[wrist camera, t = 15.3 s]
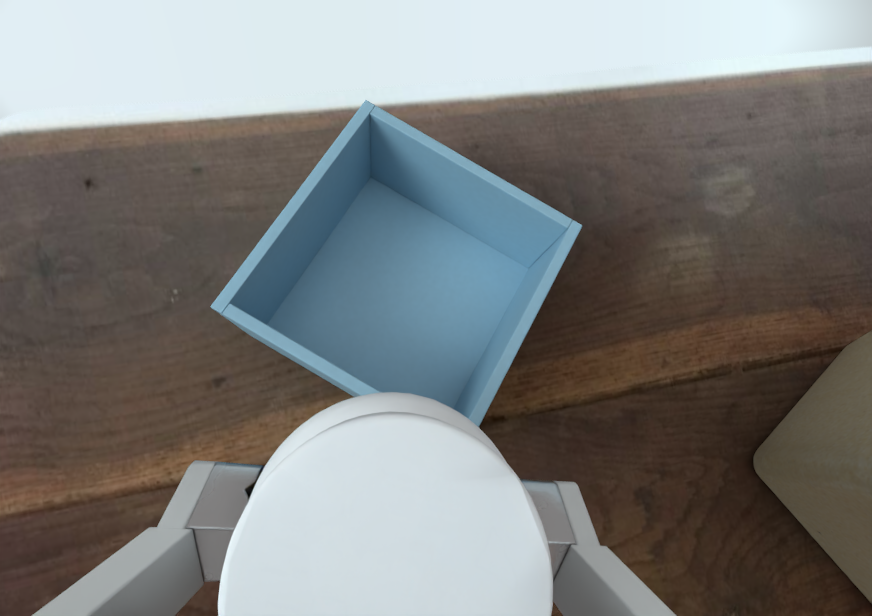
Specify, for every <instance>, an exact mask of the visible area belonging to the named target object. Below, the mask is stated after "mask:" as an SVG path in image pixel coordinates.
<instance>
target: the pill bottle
mask: <svg viewBox="0 0 872 616" xmlns="http://www.w3.org/2000/svg"><path fill="white" fill-rule="evenodd" d="M552 606H553V574H552V566H551V558H550V551H549V546H548V542H547V537H546V534H545V531H544V528H543V525H542V522H541V519H540V517H539V514H538V512H537V509H536V507H535V505H534V503H533V500H532V498H531V496H530V495H529V493H528V492H527V490H526V488H525V487H524V485H523V483H522V482H521V481H520V479H519V478H518V476H517V475H516V473H515V472H514V471H513V470H512V469H511V467H510V466H509V465H508V464H507V463H506V461H505V459H504V458H503V456H502V455H501V453H500V452H499V450H498V449H497V448H496V446H495V445H494V444H493V442H492V441H491V440H490V439H489V438H488V437H487V435H486V434H485V433H484V432H483V431H482V430H481V429H480V428H479V427H478V426H477V425H475V424H474V423H473V422H472V421H470V420H469V419H468V418H467V417H465V416H464V415H462V414H461V413H459V412H458V411H456V410H454V409H452V408H451V407H449V406H447V405H445V404H442V403H440V402H438V401H436V400H434V399H431V398H427V397H423V396H419V395H415V394H411V393H398V392H385V393H373V394H367V395H362V396H357V397H354V398H351V399H347V400H344V401H342V402H339V403H336V404H334V405H332V406H330V407H328V408H327V409H325V410H323V411H321V412H319V413H317V414H315V415H314V416H312V417H311V418H310V419H309V420H307V421H306V422H305V423H303V424H302V425H301V426H299V427H298V428H297V429H296V430H295V431H294V432H293V433H292V434H291V435H290V436H289V437H288V438H287V439H286V440H285V441H284V442H283V443H282V444H281V445H280V446H279V448H278V449H277V450H276V451H275V453H274V454H273V455H272V457H271V458H270V460H269V461H268V463H267V464H266V466H265V467H264V469H263V471H262V473H261V475H260V476H259V478H258V480H257V482H256V484H255V487H254V489H253V491H252V494H251V496H250V499H249V502H248V504H247V506H246V507H245V509H244V511H243V513H242V515H241V517H240V519H239V521H238V523H237V525H236V528H235V530H234V532H233V534H232V537H231V540H230V543H229V546H228V549H227V553H226V557H225V561H224V565H223V569H222V574H221V580H220V588H219V597H218V616H551V612H552Z"/></svg>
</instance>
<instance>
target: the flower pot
mask: <svg viewBox="0 0 872 616" xmlns="http://www.w3.org/2000/svg"><path fill="white" fill-rule="evenodd" d="M753 464H754V468H755V471H756V473H757V474H758V476H759V477H760V478H761V479H762V480H763V481H764V483H765V484H766V485H767V486H768V487H769V488H770V489H771V490H772V491H773V493H774V494H775V495H776V496H777V497H778V498H779V499H780V501H781V502H782V503H783V504H784V505H785V506H786V507H787V508H788V510H789V511H790V512H791V513H792V514H793V515H794V516H795V518H796V519H797V520H798V521H799V522H800V523H801V524H802V525H803V527H804V528H805V529H806V530H807V531H808V532H809V533H810V535H811V536H812V537H813V538H814V539H815V540H816V541H817V542H818V544H819V545H820V546H821V547H822V548H823V549H824V550H825V552H826V553H827V554H828V555H829V556H830V557H831V558H832V560H833V561H834V562H835V563H836V564H837V565H838V566H839V567H840V569H841V570H842V571H843V572H844V573H845V574H846V575H847V576H848V577H849V579H850V580H851V581H852V582H853V583H854V584H855V586H856V587H857V588H858V589H859V590H860V591H861V592H862V593H863V594H864V596H865V597H866V598H867V599H868V600H869V601H870V602H871V603H872V331H870V332H868V333H867V334H865V335H863V336H862V337H860V338H859V339H857V340H855V341H854V342H852V343H851V344H849V345H847V346H846V347H845V348H844V349H843V350H842V351H841V353H840V354H839V355H838V356H837V357H836V358H835V360H834V361H833V362H832V363H831V364H830V365H829V367H828V368H827V369H826V370H825V371H824V372H823V374H822V375H821V376H820V377H819V378H818V379H817V381H816V382H815V383H814V384H813V385H812V386H811V388H810V389H809V390H808V391H807V392H806V393H805V394H804V396H803V397H802V398H801V399H800V400H799V401H798V403H797V404H796V405H795V406H794V407H793V408H792V410H791V411H790V412H789V413H788V414H787V415H786V417H785V418H784V419H783V420H782V421H781V422H780V424H779V425H778V426H777V427H776V428H775V429H774V431H773V432H772V433H771V434H770V435H769V436H768V438H767V439H766V440H765V441H764V442H763V443H762V445H761V446H760V447H759V448H758V449H757V451H756V452H755V454H754V457H753Z"/></svg>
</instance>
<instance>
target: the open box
mask: <svg viewBox="0 0 872 616" xmlns="http://www.w3.org/2000/svg"><path fill="white" fill-rule="evenodd" d="M581 228H582V225H581V224H579V223H578V222H576V221H574V220H573V221H572V219H571V218H569V217H567V216H565V215H564V214H562V213H560V212H558V211H557V210H555V209H553V208H552V207H550V206H548V205H546V204H545V203H543V202H541V201H539V200H538V199H536V198H534V197H533V196H531V195H529V194H527V193H526V192H524V191H522V190H520V189H519V188H517V187H515V186H514V185H512V184H510V183H508V182H507V181H505V180H503V179H501V178H500V177H498V176H496V175H495V174H493V173H491V172H489V171H488V170H486V169H484V168H482V167H481V166H479V165H477V164H475V163H474V162H472V161H470V160H469V159H467V158H465V157H463V156H462V155H460V154H458V153H456V152H455V151H453V150H451V149H450V148H448V147H446V146H444V145H443V144H441V143H439V142H437V141H436V140H434V139H432V138H431V137H429V136H427V135H425V134H424V133H422V132H420V131H418V130H417V129H415V128H413V127H412V126H410V125H408V124H406V123H405V122H403V121H401V120H399V119H398V118H396V117H394V116H393V115H391V114H389V113H387V112H386V111H384V110H382V109H380V108H379V107H377V106H375V105H374V104H372V103H370V102H369V101H367V100H365V102H364V103H363V104H362V106H361V107H360V108H359V110H358V111H357V112H356V114H355V115H354V116H353V118H352V119H351V120H350V122H349V123H348V124H347V126H346V127H345V128H344V130H343V131H342V132H341V134H340V135H339V136H338V138H337V139H336V140H335V142H334V143H333V144H332V146H331V147H330V148H329V150H328V151H327V152H326V154H325V155H324V156H323V158H322V159H321V160H320V162H319V163H318V164H317V166H316V167H315V168H314V170H313V171H312V172H311V174H310V175H309V176H308V178H307V179H306V180H305V182H304V183H303V184H302V186H301V187H300V188H299V190H298V191H297V192H296V194H295V195H294V196H293V198H292V199H291V200H290V202H289V203H288V204H287V206H286V207H285V208H284V209H283V211H282V212H281V213H280V215H279V216H278V217H277V219H276V220H275V221H274V223H273V224H272V225H271V227H270V228H269V229H268V231H267V232H266V233H265V235H264V236H263V237H262V239H261V240H260V241H259V243H258V244H257V245H256V247H255V248H254V249H253V251H252V252H251V253H250V255H249V256H248V257H247V259H246V260H245V261H244V263H243V264H242V265H241V267H240V268H239V269H238V271H237V272H236V273H235V275H234V276H233V277H232V279H231V280H230V281H229V283H228V284H227V285H226V287H225V288H224V289H223V291H222V292H221V293H220V295H219V296H218V297H217V299H216V300H215V301H214V303H213V304H212V305H211V308H212V309H214V310H215V311H217V312H218V313H219V314H221V315H222V316H224V317H225V318H226V319H228V320H229V321H231V322H232V323H233V324H235V325H236V326H238V327H239V328H241V329H242V330H243V331H245V332H246V333H248V334H249V335H250V336H252V337H254V338H255V339H257V340H259V341H260V342H262V343H264V344H265V345H267V346H269V347H271V348H272V349H274V350H276V351H277V352H279V353H281V354H282V355H284V356H286V357H288V358H289V359H291V360H293V361H294V362H296V363H298V364H299V365H301V366H303V367H304V368H306V369H308V370H310V371H311V372H313V373H315V374H316V375H318V376H320V377H321V378H323V379H325V380H327V381H328V382H330V383H332V384H333V385H335V386H337V387H338V388H340V389H342V390H344V391H345V392H347V393H349V394H350V395H352V396H354V397H357V396H362V395H367V394H373V393H385V392H398V393H411V394H415V395H419V396H423V397H427V398H431V399H434V400H436V401H438V402H440V403H442V404H445V405H447V406H449V407H451V408H452V409H454V410H456V411H458V412H459V413H461V414H462V415H464V416H465V417H467V418H468V419H469V420H470V421H472V422H473V423H474V424H475V425H477V426H478V427H479V426H480V424H481V422H482V420H483V418H484V416H485V414H486V412H487V410H488V408H489V406H490V404H491V402H492V400H493V399H494V397H495V395H496V393H497V391H498V389H499V387H500V385H501V383H502V381H503V379H504V377H505V375H506V373H507V371H508V369H509V367H510V366H511V364H512V362H513V360H514V358H515V356H516V354H517V352H518V350H519V348H520V346H521V344H522V342H523V340H524V338H525V336H526V335H527V333H528V331H529V329H530V327H531V325H532V323H533V321H534V319H535V317H536V315H537V313H538V311H539V309H540V307H541V305H542V304H543V302H544V300H545V298H546V296H547V294H548V292H549V290H550V288H551V286H552V284H553V282H554V280H555V278H556V276H557V274H558V272H559V271H560V269H561V267H562V265H563V263H564V261H565V259H566V257H567V255H568V253H569V251H570V249H571V247H572V245H573V243H574V241H575V240H576V238H577V236H578V234H579V232H580V230H581Z"/></svg>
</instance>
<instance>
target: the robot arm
mask: <svg viewBox="0 0 872 616" xmlns="http://www.w3.org/2000/svg"><path fill="white" fill-rule="evenodd" d="M264 467H265V466H263V465H250V464H238V463H226V462H212V461H197V460H195V461H194V462H193V463H192V464H191V465H190V466H189V467H188V469H187V471H186V473H185V474H184V476H183V478H182V480H181V482H180V484H179V486H178V488H177V490H176V492H175V494H174V496H173V497H172V499H171V501H170V503H169V505H168V507H167V509H166V511H165V513H164V515H163V517H162V518H161V520H160V522H159V524H158V526H157V527H149V528H148V529H146V530H145V531H144V532H142V533H141V534H140V535H138V536H137V537H136V538H134V539H133V540H132V541H131V542H129V543H128V544H127V545H125V546H124V547H123V548H121V549H120V550H119V551H117V552H116V553H115V554H113V555H112V556H111V557H109V558H108V559H107V560H105V561H104V562H103V563H101V564H100V565H99V566H97V567H96V568H95V569H93V570H92V571H91V572H89V573H88V574H87V575H85V576H84V577H83V578H81V579H80V580H79V581H77V582H76V583H75V584H73V585H72V586H71V587H69V588H68V589H67V590H65V591H64V592H63V593H61V594H60V595H59V596H57V597H56V598H55V599H53V600H52V601H51V602H49V603H48V604H47V605H45V606H44V607H43V608H41V609H40V610H39V611H37V612H36V613H35V614H33V615H32V616H175V615H176V614H177V613H178V611H179V610H180V609H181V608H182V607H183V606H184V605H185V604H186V603H187V602H188V601H189V600H190V599H191V598H192V597H193V595H194V594H195V593H196V592H197V591H198V590H199V589H200V588H201V587H202V586H203V585H204V581H220V580H221V574H222V569H223V565H224V561H225V557H226V553H227V549H228V546H229V543H230V540H231V537H232V534H233V532H234V530H235V528H236V525H237V523H238V521H239V519H240V517H241V515H242V513H243V511H244V509H245V507H246V506H247V504H248V502H249V499H250V496H251V494H252V491H253V489H254V487H255V484H256V482H257V480H258V478H259V476H260V475H261V473H262V471H263V469H264ZM520 481H521V482H522V483H523V485H524V487H525V488H526V490H527V492H528V493H529V495H530V496H531V498H532V500H533V503H534V505H535V507H536V509H537V512H538V514H539V517H540V519H541V522H542V525H543V528H544V531H545V534H546V537H547V542H548V546H549V551H550V558H551V566H552V574H553V602H554V603H555V605H556V606H557V607H558V609H559V610H560V612H561V613H562V614H563V616H676V615H675V614H674V613H673V612H672V611H671V610H670V609H669V608H668V607H667V606H666V605H665V604H664V603H663V602H662V601H661V600H660V599H659V598H658V597H657V596H656V595H655V594H654V593H653V592H652V591H651V590H650V589H649V588H648V587H647V586H646V585H645V584H644V583H643V582H642V581H641V580H640V579H639V578H638V577H637V576H636V575H635V574H634V573H633V572H632V571H631V570H630V569H629V568H628V567H627V566H626V565H625V564H624V563H623V562H622V561H621V560H620V559H619V558H618V557H617V556H616V555H615V554H614V553H613V552H612V551H611V550H610V549H609V548H608V547H607V546H600V544H599V541H598V538H597V535H596V533H595V530H594V527H593V525H592V522H591V519H590V517H589V514H588V511H587V509H586V506H585V503H584V501H583V498H582V495H581V492H580V490H579V487H578V485H577V484H576V483H575V482H565V481H552V480H532V479H520Z"/></svg>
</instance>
